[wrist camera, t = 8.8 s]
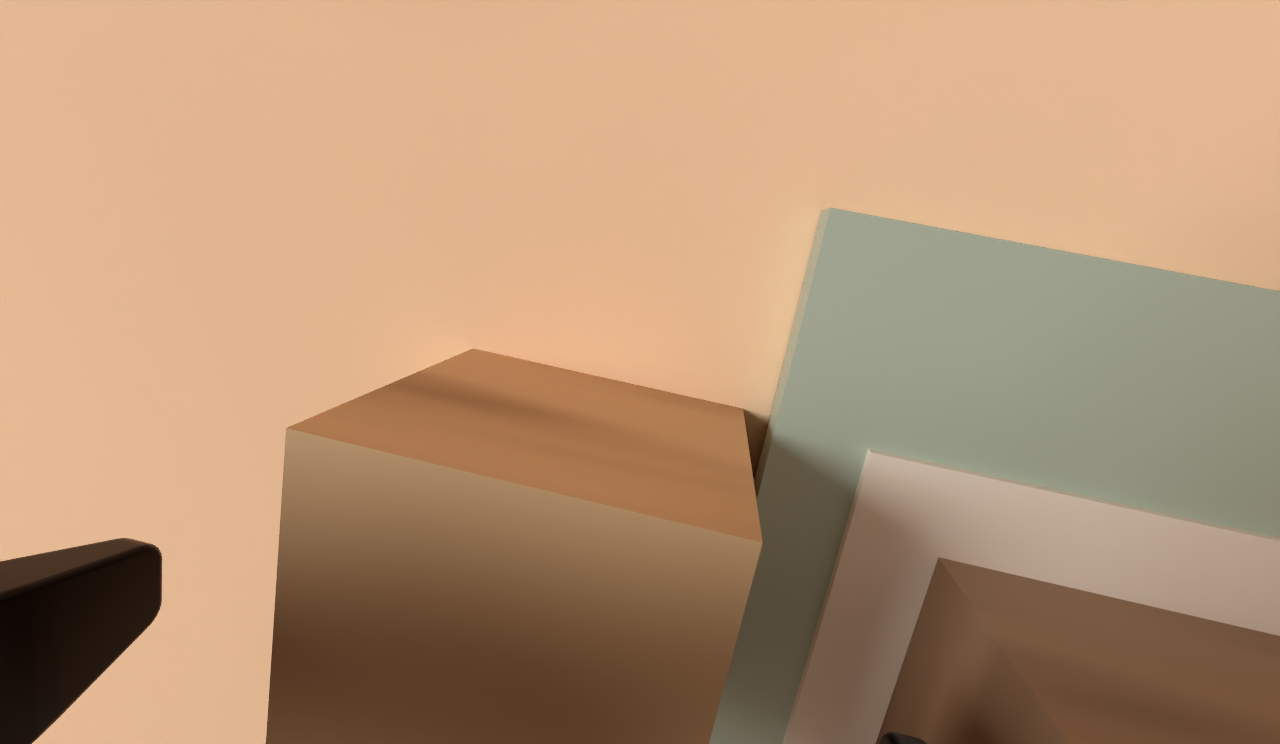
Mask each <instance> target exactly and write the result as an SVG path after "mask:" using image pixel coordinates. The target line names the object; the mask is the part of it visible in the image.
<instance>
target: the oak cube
mask: <svg viewBox="0 0 1280 744" xmlns="http://www.w3.org/2000/svg"><path fill="white" fill-rule="evenodd" d="M762 543H763V542H762V535H761V528H760V521H759V514H758V508H757V501H756V494H755V487H754V480H753V473H752V466H751V460H750V453H749V446H748V439H747V432H746V425H745V418H744V412H743V409H741V408H737V407H732V406H728V405H723V404H719V403H714V402H710V401H706V400H701V399H697V398H692V397H688V396H683V395H679V394H674V393H670V392H665V391H661V390H656V389H652V388H647V387H643V386H638V385H634V384H629V383H625V382H620V381H616V380H611V379H607V378H602V377H598V376H593V375H589V374H584V373H580V372H575V371H571V370H566V369H562V368H557V367H553V366H548V365H544V364H539V363H535V362H530V361H526V360H521V359H517V358H512V357H508V356H503V355H499V354H494V353H490V352H485V351H481V350H476V349H471V350H468V351H466V352H464V353H461V354H459V355H457V356H454V357H452V358H450V359H447V360H445V361H443V362H440V363H438V364H436V365H433V366H431V367H429V368H426V369H424V370H422V371H419V372H417V373H414V374H412V375H410V376H407V377H405V378H403V379H400V380H398V381H396V382H393V383H391V384H389V385H386V386H384V387H382V388H379V389H377V390H375V391H372V392H370V393H368V394H365V395H363V396H361V397H358V398H356V399H354V400H351V401H349V402H347V403H344V404H342V405H339V406H337V407H335V408H332V409H330V410H328V411H325V412H323V413H321V414H318V415H316V416H314V417H311V418H309V419H307V420H304V421H302V422H300V423H297V424H295V425H293V426H290V427H288V428H286V441H285V457H284V472H283V488H282V503H281V519H280V534H279V550H278V566H277V581H276V597H275V612H274V628H273V643H272V659H271V674H270V690H269V706H268V721H267V737H266V744H709V742H710V738H711V734H712V730H713V727H714V723H715V719H716V715H717V712H718V708H719V704H720V700H721V697H722V693H723V689H724V685H725V682H726V678H727V674H728V671H729V667H730V663H731V659H732V656H733V652H734V648H735V644H736V641H737V637H738V633H739V629H740V626H741V622H742V618H743V614H744V611H745V607H746V603H747V599H748V596H749V592H750V588H751V584H752V581H753V577H754V573H755V569H756V566H757V562H758V558H759V555H760V551H761V547H762Z"/></svg>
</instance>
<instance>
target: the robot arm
mask: <svg viewBox="0 0 1280 744" xmlns="http://www.w3.org/2000/svg"><path fill="white" fill-rule="evenodd" d="M161 601H162V555H161V552H160V550H159V548H158V547H156V546H155V545H153V544H149V543H145V542H141V541H137V540H133V539H128V538H120V539H114V540H109V541H104V542H99V543H93V544H88V545H83V546H78V547H73V548H68V549H63V550H57V551H52V552H47V553H42V554H37V555H32V556H26V557H21V558H16V559H11V560H6V561H1V562H0V744H32V743H33V742H34V741H35V740H36V739H37V738H38V737H39V736H40V735H41V734H43V733H44V732H45V731H46V730H47V729H48V728H49V727H50V726H51V725H52V724H53V723H54V722H55V721H56V720H57V719H58V718H59V717H60V716H61V715H62V714H63V713H64V712H65V711H66V710H67V709H68V708H69V707H70V706H71V705H72V704H73V703H74V702H75V701H76V700H77V699H78V698H79V697H80V696H81V694H82V693H83V692H84V691H85V690H86V689H87V688H88V687H89V686H90V685H91V684H92V683H93V682H94V681H95V680H96V679H97V678H98V677H99V676H100V675H101V674H102V673H103V672H104V671H105V670H106V669H107V668H108V667H109V666H110V665H111V664H112V663H113V662H114V661H115V660H116V659H117V658H118V657H119V656H120V655H121V654H122V653H123V652H124V651H125V650H126V649H127V648H128V647H129V646H130V645H131V644H132V643H133V642H134V641H135V640H136V639H137V638H138V637H139V636H140V635H141V634H142V633H143V632H144V631H145V629H146V628H147V627H148V626H149V625H150V624H151V623H152V622H153V620H154V619H155V617H156V616H157V614H158V612H159V610H160V606H161ZM879 744H927V743H926V742H925V741H923V740H922V739H920V738H917V737H913V736H909V735H905V734H901V733H897V732H893V731H889V732H886V733H884V734H883V736H882V737H881V739H880V741H879Z"/></svg>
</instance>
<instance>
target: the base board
mask: <svg viewBox="0 0 1280 744" xmlns="http://www.w3.org/2000/svg"><path fill="white" fill-rule="evenodd" d="M754 487H755V494H756V501H757V508H758V514H759V521H760V528H761V535H762V542H763V543H762V547H761V551H760V555H759V558H758V562H757V566H756V569H755V573H754V577H753V581H752V584H751V588H750V592H749V596H748V599H747V603H746V607H745V611H744V614H743V618H742V622H741V626H740V629H739V633H738V637H737V641H736V644H735V648H734V652H733V656H732V659H731V663H730V667H729V671H728V674H727V678H726V682H725V685H724V689H723V693H722V697H721V700H720V704H719V708H718V712H717V715H716V719H715V723H714V727H713V730H712V734H711V738H710V742H709V744H876V741H877V738H878V735H879V732H880V729H881V726H882V723H883V720H884V717H885V714H886V711H887V708H888V705H889V702H890V699H891V696H892V693H893V690H894V687H895V684H896V682H897V679H898V676H899V673H900V670H901V667H902V664H903V661H904V658H905V655H906V652H907V649H908V646H909V643H910V640H911V637H912V634H913V631H914V628H915V625H916V622H917V619H918V616H919V613H920V610H921V607H922V604H923V601H924V598H925V595H926V592H927V589H928V587H929V584H930V581H931V578H932V575H933V572H934V569H935V566H936V563H937V560H938V557H940V558H944V559H949V560H953V561H957V562H962V563H966V564H970V565H975V566H979V567H983V568H988V569H992V570H996V571H1001V572H1005V573H1009V574H1014V575H1018V576H1022V577H1026V578H1031V579H1035V580H1039V581H1044V582H1048V583H1052V584H1057V585H1061V586H1065V587H1070V588H1074V589H1078V590H1083V591H1087V592H1091V593H1096V594H1100V595H1104V596H1109V597H1113V598H1117V599H1122V600H1126V601H1130V602H1135V603H1139V604H1143V605H1148V606H1152V607H1156V608H1161V609H1165V610H1169V611H1174V612H1178V613H1182V614H1187V615H1191V616H1195V617H1200V618H1204V619H1208V620H1213V621H1217V622H1221V623H1226V624H1230V625H1234V626H1239V627H1243V628H1247V629H1252V630H1256V631H1260V632H1265V633H1269V634H1273V635H1278V636H1280V291H1275V290H1270V289H1265V288H1259V287H1254V286H1248V285H1243V284H1238V283H1232V282H1227V281H1221V280H1216V279H1211V278H1205V277H1200V276H1195V275H1189V274H1184V273H1178V272H1173V271H1168V270H1162V269H1157V268H1152V267H1146V266H1141V265H1135V264H1130V263H1125V262H1119V261H1114V260H1109V259H1103V258H1098V257H1092V256H1087V255H1082V254H1076V253H1071V252H1066V251H1060V250H1055V249H1049V248H1044V247H1039V246H1033V245H1028V244H1023V243H1017V242H1012V241H1006V240H1001V239H996V238H990V237H985V236H980V235H974V234H969V233H963V232H958V231H953V230H947V229H942V228H937V227H931V226H926V225H920V224H915V223H910V222H904V221H899V220H894V219H888V218H883V217H877V216H872V215H867V214H861V213H856V212H851V211H845V210H840V209H834V208H828V209H825V210H822V211H821V215H820V219H819V223H818V227H817V231H816V235H815V239H814V243H813V247H812V251H811V255H810V259H809V263H808V267H807V271H806V275H805V279H804V283H803V287H802V291H801V295H800V299H799V303H798V307H797V311H796V315H795V319H794V323H793V327H792V331H791V335H790V339H789V343H788V347H787V351H786V355H785V359H784V363H783V367H782V371H781V375H780V379H779V384H778V388H777V392H776V396H775V400H774V404H773V408H772V412H771V416H770V420H769V424H768V428H767V432H766V436H765V440H764V444H763V448H762V452H761V456H760V460H759V464H758V468H757V472H756V476H755V480H754Z"/></svg>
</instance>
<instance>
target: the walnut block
mask: <svg viewBox="0 0 1280 744" xmlns="http://www.w3.org/2000/svg"><path fill="white" fill-rule="evenodd" d="M889 731H893V732H897V733H901V734H905V735H909V736H913V737H917V738H920V739H922V740H923V741H925V742H926V743H927V744H1280V636H1278V635H1273V634H1269V633H1265V632H1260V631H1256V630H1252V629H1247V628H1243V627H1239V626H1234V625H1230V624H1226V623H1221V622H1217V621H1213V620H1208V619H1204V618H1200V617H1195V616H1191V615H1187V614H1182V613H1178V612H1174V611H1169V610H1165V609H1161V608H1156V607H1152V606H1148V605H1143V604H1139V603H1135V602H1130V601H1126V600H1122V599H1117V598H1113V597H1109V596H1104V595H1100V594H1096V593H1091V592H1087V591H1083V590H1078V589H1074V588H1070V587H1065V586H1061V585H1057V584H1052V583H1048V582H1044V581H1039V580H1035V579H1031V578H1026V577H1022V576H1018V575H1014V574H1009V573H1005V572H1001V571H996V570H992V569H988V568H983V567H979V566H975V565H970V564H966V563H962V562H957V561H953V560H949V559H944V558H940V557H938V560H937V563H936V566H935V569H934V572H933V575H932V578H931V581H930V584H929V587H928V589H927V592H926V595H925V598H924V601H923V604H922V607H921V610H920V613H919V616H918V619H917V622H916V625H915V628H914V631H913V634H912V637H911V640H910V643H909V646H908V649H907V652H906V655H905V658H904V661H903V664H902V667H901V670H900V673H899V676H898V679H897V682H896V684H895V687H894V690H893V693H892V696H891V699H890V702H889V705H888V708H887V711H886V714H885V717H884V720H883V723H882V726H881V729H880V732H879V735H878V738H877V741H876V744H879V741H880V739H881V737H882V736H883V734H884V733H886V732H889Z"/></svg>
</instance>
